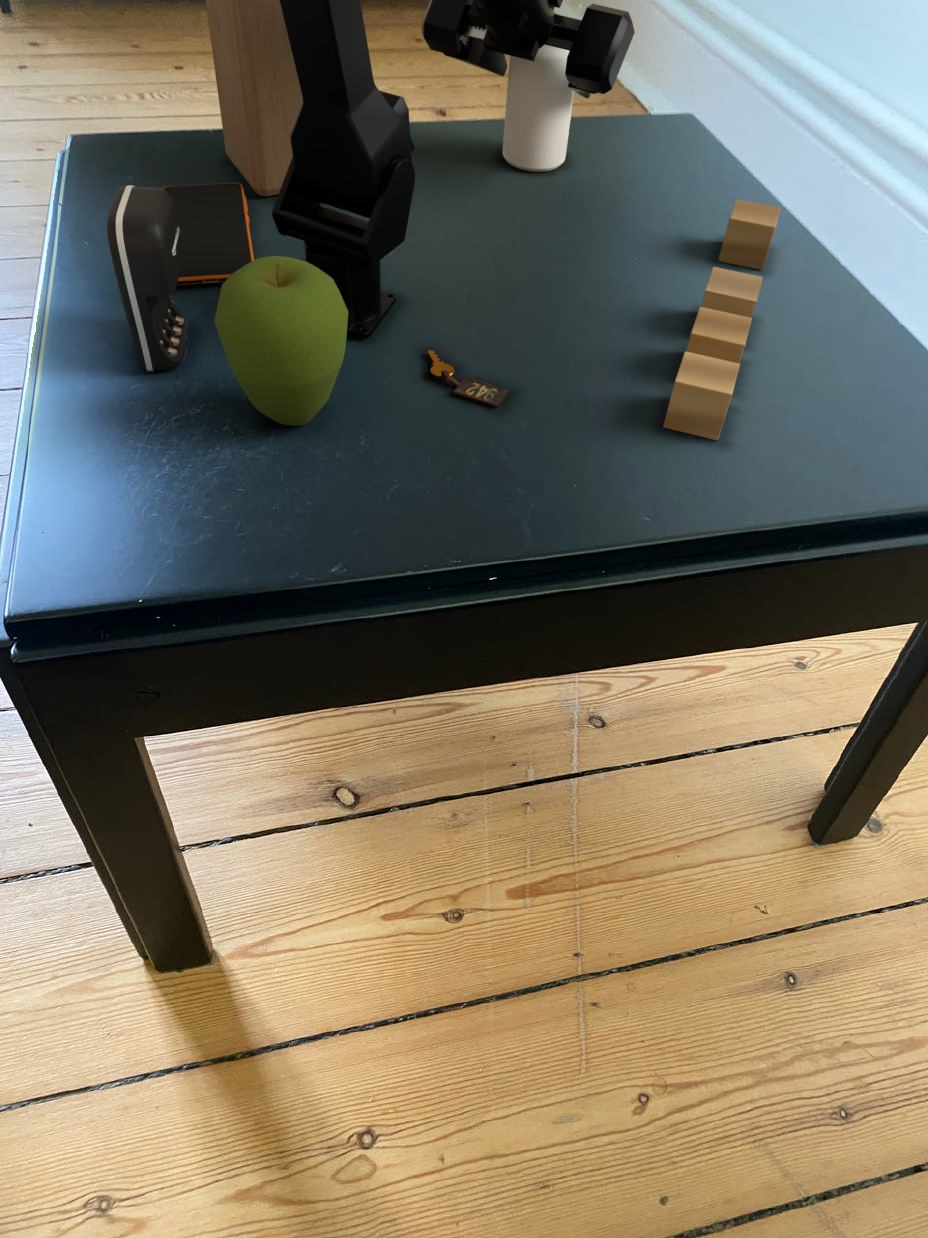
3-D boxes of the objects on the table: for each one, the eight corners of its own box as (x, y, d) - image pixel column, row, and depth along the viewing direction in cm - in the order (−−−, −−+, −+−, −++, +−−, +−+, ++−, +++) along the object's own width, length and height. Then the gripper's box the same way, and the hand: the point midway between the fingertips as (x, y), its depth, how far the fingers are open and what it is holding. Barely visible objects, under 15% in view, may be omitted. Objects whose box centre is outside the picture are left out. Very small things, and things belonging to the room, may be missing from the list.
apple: (218, 393, 69) (191, 240, 60) (329, 371, 71) (320, 221, 63) (250, 466, 64) (226, 311, 55) (369, 439, 66) (364, 286, 57)
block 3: (730, 391, 72) (745, 344, 69) (678, 379, 73) (690, 332, 70) (738, 363, 75) (752, 317, 72) (687, 351, 75) (699, 305, 72)
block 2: (742, 346, 76) (756, 301, 73) (693, 335, 77) (705, 290, 74) (749, 321, 79) (762, 276, 76) (701, 310, 80) (713, 266, 77)
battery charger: (191, 375, 70) (162, 225, 61) (138, 375, 70) (101, 224, 61) (201, 323, 75) (175, 176, 66) (151, 323, 74) (119, 175, 66)
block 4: (717, 441, 68) (732, 394, 65) (662, 427, 69) (674, 380, 66) (725, 409, 71) (740, 363, 68) (672, 397, 71) (685, 350, 68)
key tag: (514, 394, 70) (515, 388, 70) (490, 413, 69) (490, 406, 68) (430, 351, 73) (430, 344, 73) (404, 367, 72) (404, 360, 71)
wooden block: (224, 158, 94) (190, -89, 79) (319, 143, 97) (304, -97, 82) (258, 202, 88) (229, -55, 73) (357, 184, 92) (349, -65, 76)
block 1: (762, 270, 85) (775, 227, 82) (717, 261, 85) (729, 217, 82) (767, 250, 87) (781, 207, 84) (724, 241, 88) (736, 198, 85)
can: (527, 140, 100) (539, 10, 91) (577, 159, 98) (595, 28, 89) (489, 158, 97) (498, 26, 88) (540, 179, 94) (554, 44, 85)
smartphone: (164, 288, 77) (162, 278, 77) (161, 194, 88) (160, 185, 87) (258, 281, 79) (257, 272, 78) (245, 190, 89) (243, 181, 89)
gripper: (648, -102, 74) (669, 20, 89) (440, -141, 79) (492, -21, 94) (592, 40, 75) (621, 136, 90) (391, -8, 81) (450, 90, 96)
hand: (546, 81), depth 93 cm, fingers open, 9 cm apart
